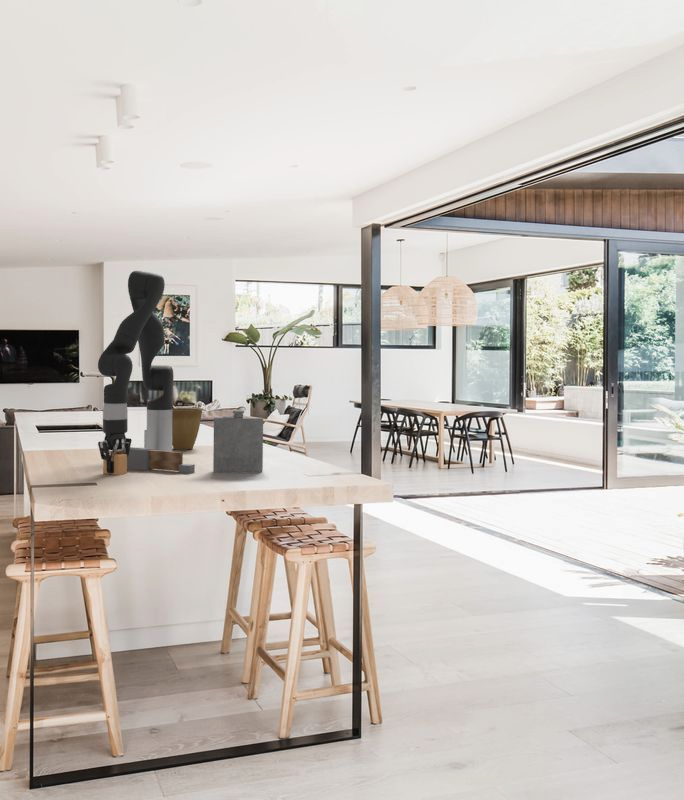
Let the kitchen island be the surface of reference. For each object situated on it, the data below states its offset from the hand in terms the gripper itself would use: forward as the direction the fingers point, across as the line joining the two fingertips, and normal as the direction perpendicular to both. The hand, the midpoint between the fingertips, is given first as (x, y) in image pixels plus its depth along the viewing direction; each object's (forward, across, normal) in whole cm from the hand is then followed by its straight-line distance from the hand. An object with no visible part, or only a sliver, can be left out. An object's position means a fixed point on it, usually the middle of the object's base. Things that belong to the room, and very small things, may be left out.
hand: (115, 471), depth 269 cm
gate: (+1, -13, +9) cm, 16 cm away
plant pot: (+1, -67, -20) cm, 70 cm away
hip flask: (+1, -23, +31) cm, 39 cm away
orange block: (+1, 0, 0) cm, 1 cm away
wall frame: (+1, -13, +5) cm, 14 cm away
